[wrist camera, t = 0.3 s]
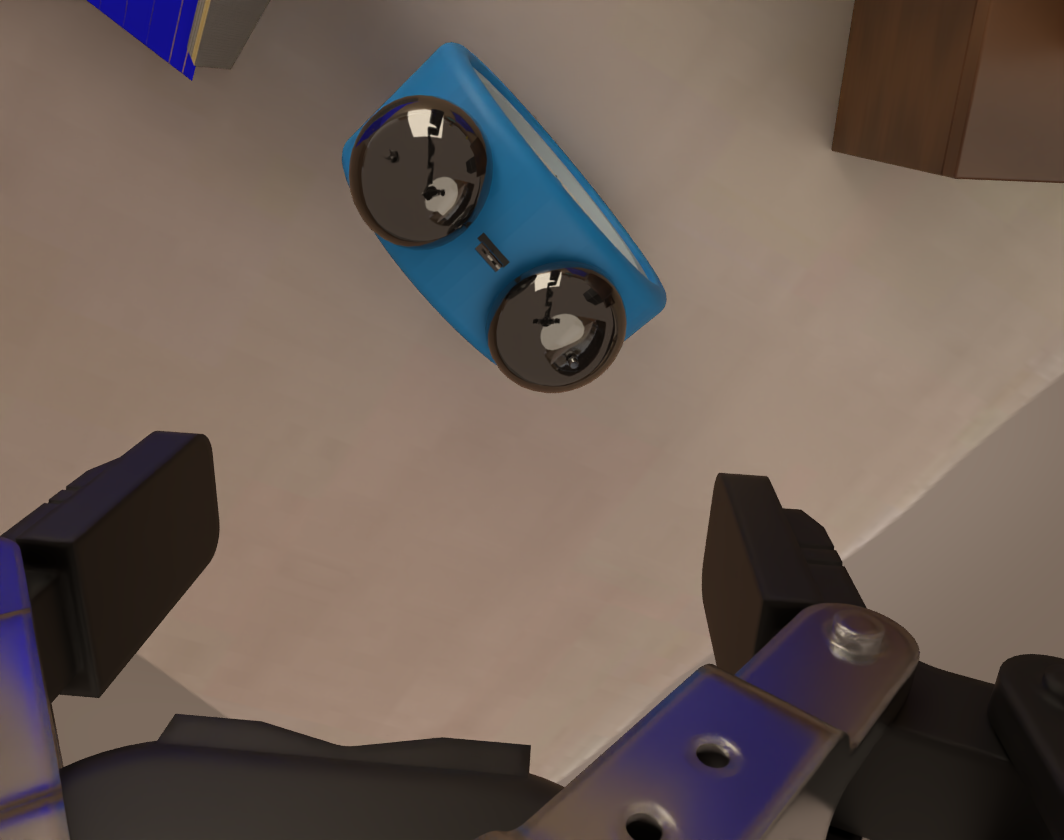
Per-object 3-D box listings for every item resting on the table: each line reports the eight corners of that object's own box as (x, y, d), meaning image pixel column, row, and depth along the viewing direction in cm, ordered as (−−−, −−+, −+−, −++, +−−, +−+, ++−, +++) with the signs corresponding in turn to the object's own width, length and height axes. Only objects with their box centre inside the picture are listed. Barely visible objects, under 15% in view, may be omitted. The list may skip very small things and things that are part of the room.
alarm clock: (659, 266, 41) (694, 355, 27) (562, 346, 42) (547, 468, 28) (477, 45, 38) (408, 14, 24) (381, 141, 39) (264, 164, 25)
